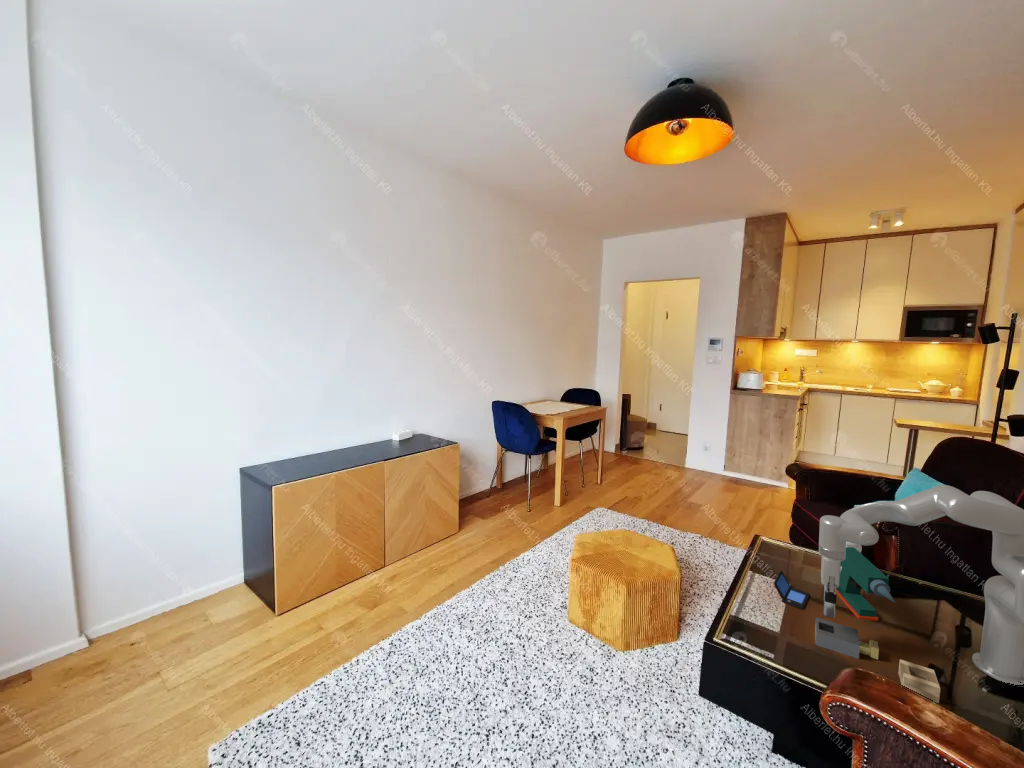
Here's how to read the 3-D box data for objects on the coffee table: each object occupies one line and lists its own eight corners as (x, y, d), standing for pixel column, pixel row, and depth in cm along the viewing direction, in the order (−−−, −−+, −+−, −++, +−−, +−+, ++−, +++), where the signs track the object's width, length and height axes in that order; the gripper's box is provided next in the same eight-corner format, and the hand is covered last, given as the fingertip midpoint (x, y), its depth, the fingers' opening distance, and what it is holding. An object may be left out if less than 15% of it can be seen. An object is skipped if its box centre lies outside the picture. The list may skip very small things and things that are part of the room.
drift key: (876, 651, 145) (877, 641, 145) (877, 659, 142) (878, 649, 142) (833, 638, 152) (833, 628, 152) (833, 645, 149) (834, 635, 148)
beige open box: (932, 683, 132) (933, 669, 132) (938, 703, 126) (940, 688, 125) (898, 672, 137) (899, 659, 136) (902, 690, 131) (904, 676, 130)
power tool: (904, 647, 147) (909, 595, 144) (881, 645, 148) (886, 594, 145) (851, 590, 178) (854, 546, 175) (832, 589, 179) (835, 545, 176)
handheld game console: (803, 611, 168) (804, 594, 166) (772, 599, 175) (773, 583, 174) (809, 595, 176) (810, 579, 175) (780, 585, 184) (781, 569, 183)
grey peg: (834, 613, 151) (835, 580, 149) (835, 618, 148) (836, 585, 146) (823, 610, 152) (824, 577, 151) (824, 616, 150) (824, 582, 148)
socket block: (856, 642, 150) (857, 629, 150) (858, 658, 143) (859, 645, 142) (815, 629, 157) (815, 617, 157) (815, 644, 150) (816, 632, 149)
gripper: (818, 538, 156) (816, 583, 158) (819, 560, 142) (817, 609, 145) (844, 543, 151) (842, 590, 154) (847, 566, 138) (845, 616, 141)
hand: (830, 598), depth 149 cm, fingers closed on grey peg, 3 cm apart
